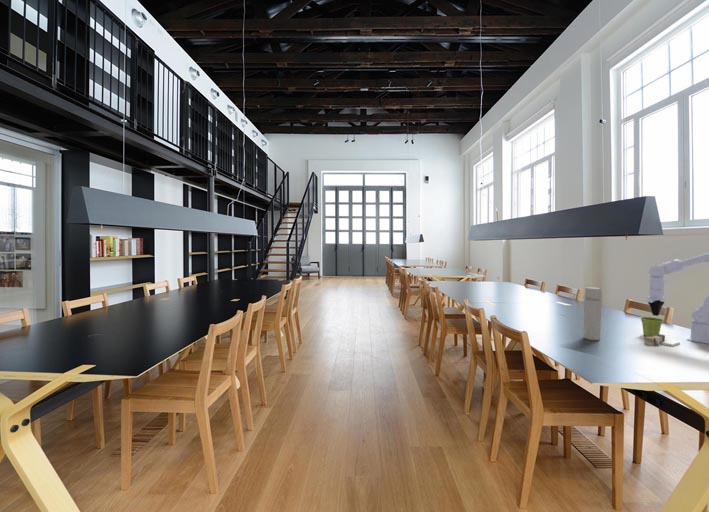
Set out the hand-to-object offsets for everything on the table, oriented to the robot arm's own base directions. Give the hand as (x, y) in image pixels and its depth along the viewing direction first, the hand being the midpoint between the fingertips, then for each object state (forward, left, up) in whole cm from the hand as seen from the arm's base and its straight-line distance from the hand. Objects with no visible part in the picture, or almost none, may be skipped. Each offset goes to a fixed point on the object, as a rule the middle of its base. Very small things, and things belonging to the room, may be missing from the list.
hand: (655, 315), depth 199 cm
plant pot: (0, +5, -10) cm, 11 cm away
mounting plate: (-12, +15, -10) cm, 22 cm away
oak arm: (-7, +19, -10) cm, 23 cm away
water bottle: (+13, +36, -10) cm, 40 cm away
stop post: (-9, +22, -10) cm, 26 cm away
